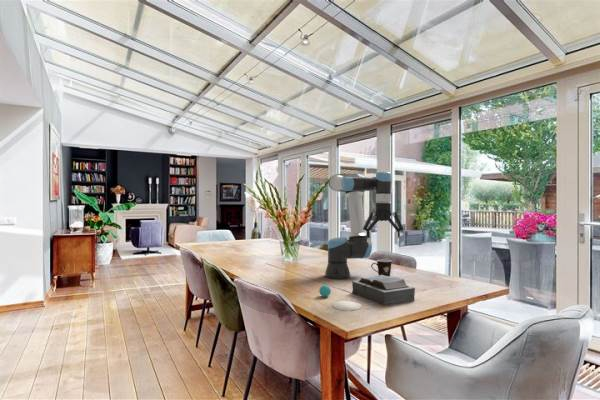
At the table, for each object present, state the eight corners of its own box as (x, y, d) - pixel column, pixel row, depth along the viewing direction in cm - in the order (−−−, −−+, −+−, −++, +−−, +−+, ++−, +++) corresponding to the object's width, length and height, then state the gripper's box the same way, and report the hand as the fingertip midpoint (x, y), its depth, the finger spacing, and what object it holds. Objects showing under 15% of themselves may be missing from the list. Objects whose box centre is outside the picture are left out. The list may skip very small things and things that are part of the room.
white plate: (326, 304, 157) (326, 303, 157) (349, 300, 164) (349, 299, 164) (343, 312, 146) (343, 312, 146) (367, 307, 152) (367, 307, 152)
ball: (317, 295, 170) (317, 284, 170) (326, 294, 173) (326, 283, 173) (323, 298, 166) (323, 287, 166) (332, 297, 168) (332, 285, 168)
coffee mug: (392, 276, 213) (392, 259, 213) (391, 279, 205) (391, 262, 205) (372, 274, 217) (372, 258, 217) (371, 277, 209) (371, 261, 209)
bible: (374, 307, 153) (374, 285, 153) (348, 292, 179) (348, 272, 179) (419, 303, 160) (419, 281, 160) (388, 288, 186) (388, 270, 186)
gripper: (360, 202, 172) (360, 245, 173) (410, 202, 174) (409, 245, 174) (357, 202, 180) (357, 243, 180) (404, 202, 181) (404, 242, 182)
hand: (383, 244), depth 177 cm, fingers open, 13 cm apart
